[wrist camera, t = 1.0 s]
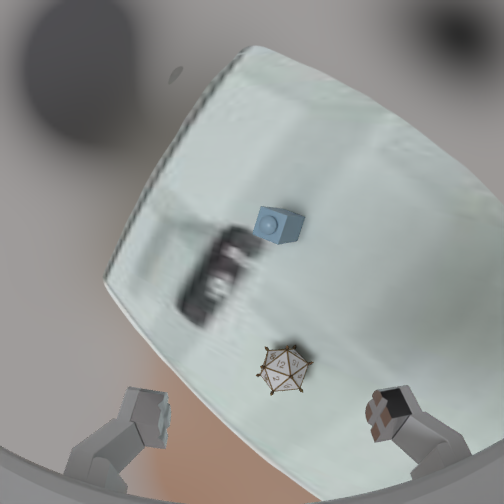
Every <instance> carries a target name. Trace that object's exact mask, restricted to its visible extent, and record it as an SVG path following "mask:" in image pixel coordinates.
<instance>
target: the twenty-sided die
mask: <svg viewBox="0 0 504 504" xmlns="http://www.w3.org/2000/svg"><path fill="white" fill-rule="evenodd" d="M265 349H266V350H267V354H266V357H265V361H264V364H263V365H262V366H260V367H261V369H262V370H261V373H260V374H257V375H256V376H261V377H262V378H263V379H264V381H265V382H266V383H267V384H268V386H269V387H270V388H271V390H272V391H271V393H270V395H273V393H274V391H285V390H295V389H299V391H300V392H303V389H301V385H302V382H303V379H304V376H305V373H306V370H307V367H308V365H311V364H312V363H314V362H307V361H306V360H305V359H304V358H303V357H302V356H301V355H300V354H299V353H298V352H297V351H296V350H295V349H296V345H294V346H293V349H289V347H288V346H286V347H285V349H278V350H269V348H268V347H265Z"/></svg>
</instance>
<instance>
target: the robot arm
mask: <svg viewBox="0 0 504 504" xmlns="http://www.w3.org/2000/svg"><path fill="white" fill-rule="evenodd" d="M372 397H373V399H372V400H371V401H369V402H368V404H367V406H366V411H365V414H366V419H367V422H368V423H369V424H370V425H372V428H371V433H372V436H373V439H374V442H381V441H386V440H391V439H392V441H393V442H394V443H395V444H396V445H398V446H399V447H400V448H401V449H402V450H403V451H404V452H405V453H406V454H407V455H409V456H410V457H411V458H412V459H413V460H414V461H415V462H416V463H418V465H417V466H416V467H415V468H414V469H413V470H412V471H411V473H410V474H411V477H412V480H410V481H407V482H404V483H401V484H398V485H394V486H391V487H388V488H384V489H380V490H376V491H372V492H368V493H364V494H360V495H355V496H350V497H345V498H340V499H334V500H328V501H321V502H314V503H306V504H504V438H503V439H502V440H500V441H498V442H497V443H495V444H493V445H491V446H489V447H487V448H486V449H484V450H482V451H480V452H478V453H476V454H474V455H472V454H471V452H470V450H469V448H468V446H467V444H466V442H465V440H464V438H463V436H462V435H461V434H460V433H458V432H457V431H455V430H453V429H452V428H450V427H449V426H447V425H446V424H444V423H442V422H441V421H439V420H438V419H436V418H435V417H433V416H432V415H430V414H428V413H427V412H422V410H421V408H420V406H419V404H418V402H417V400H416V398H415V396H414V394H413V393H412V391H411V389H410V387H409V386H408V385H404V386H398V387H391V388H385V389H378V390H376V391H374V393H373V394H372ZM167 402H168V394H167V392H160V391H153V390H147V389H141V388H135V387H128V388H127V390H126V392H125V395H124V398H123V401H122V404H121V407H120V410H119V413H118V417H117V419H114V418H113V419H112V420H110V421H109V422H108V423H106V424H105V425H104V426H102V427H101V428H100V429H98V430H97V431H95V432H94V433H93V434H91V435H90V436H89V437H87V438H86V439H85V440H83V441H82V442H80V443H79V444H78V445H76V446H75V447H73V448H72V451H71V454H70V457H69V459H68V462H67V465H66V469H65V471H64V474H60V473H58V472H55V471H53V470H50V469H48V468H45V467H43V466H40V465H38V464H36V463H34V462H31V461H29V460H27V459H25V458H23V457H21V456H19V455H17V454H15V453H13V452H11V451H9V450H7V449H5V448H4V447H2V446H0V504H184V503H175V502H169V501H162V500H156V499H150V498H144V497H139V496H135V495H130V494H127V488H128V486H127V484H126V483H125V482H124V480H123V479H122V478H121V477H120V475H119V473H120V472H121V471H122V470H123V469H124V468H125V467H126V466H127V465H128V464H129V463H130V462H131V461H132V460H133V459H134V458H135V457H136V456H137V455H138V454H139V453H140V452H141V451H142V450H143V449H144V446H147V447H153V448H161V449H166V444H167V438H168V434H167V430H166V429H167V428H168V427H169V426H170V420H171V408H170V404H168V403H167Z"/></svg>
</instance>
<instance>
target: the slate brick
mask: <svg viewBox="0 0 504 504" xmlns="http://www.w3.org/2000/svg"><path fill="white" fill-rule="evenodd" d="M304 219H305V217H304V216H301V215H299V214H296V213H293V212H290V211H287V210H285V209H281V208H272V207H264V206H261V208H260V211H259V214H258V218H257V221H256V224H255V227H254V230H253V235H256V236H258V237H261V238H263V239H266V240H268V241H271V242H273V243H276V244H284V243H289V242H295V241H297V240H298V237H299V234H300V231H301V228H302V225H303V222H304Z"/></svg>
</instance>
